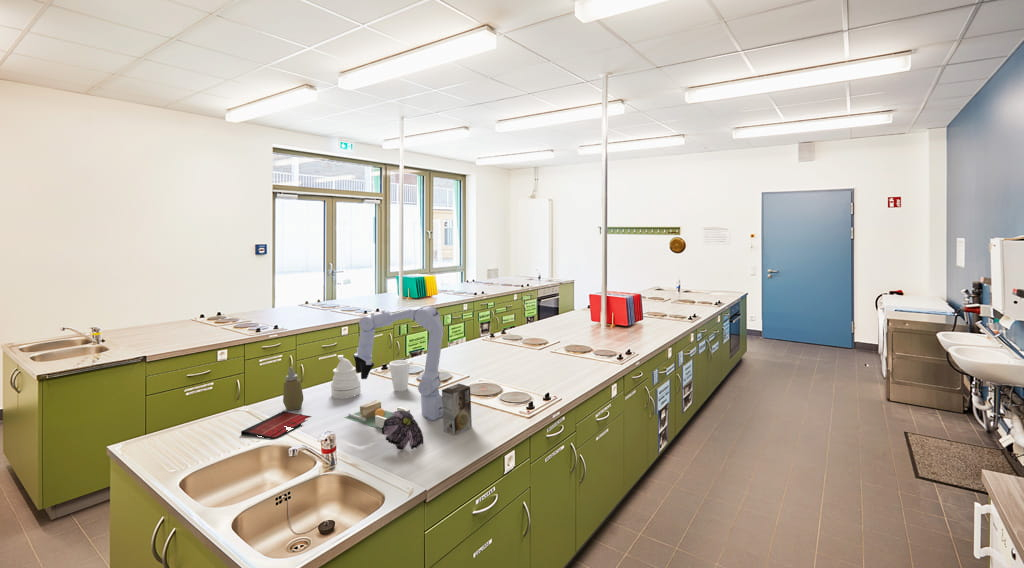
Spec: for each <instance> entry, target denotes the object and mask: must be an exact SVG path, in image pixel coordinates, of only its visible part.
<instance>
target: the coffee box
mask: <svg viewBox="0 0 1024 568" xmlns="http://www.w3.org/2000/svg"><path fill="white" fill-rule="evenodd" d="M441 396H442V403H443V416H442V427H443V432H444V433H447V434H449V435H453V436H457V435H460V434H461V433H464V432H465V431H467V430H469V429H471V428H472V427H473V424H472V402H471V400H472V399H471V386H468V385H465V384H462V383H457V384H453V385H451V386H449V387H446V388H442V389H441Z"/></svg>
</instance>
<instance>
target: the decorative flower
mask: <svg viewBox="0 0 1024 568" xmlns="http://www.w3.org/2000/svg"><path fill="white" fill-rule="evenodd" d="M392 415H394V416H391V417H388V418H387V419H386V420H385V421H384V425H383V428H382V430H381V434H382V435H384V436H385V435H386V437H385V441H387V442H388V444H389V443H390V444H391V445H392V444H393V445H395V446H396V450H400V451H402V450H404V449H405V448H406V447H407V446H408V444H409V446H410V448H411V450H413V449H414V448H416V449H417V447H419V446H420V445H421V444H422V445H424V435H423V432H422V429H421V427H420V426H419V424H418V422H417V420H416V419H414V415H413V414H411V412H410V413H409V412H407V411H403V410H400V411H397V410H396V411H393V412H392Z"/></svg>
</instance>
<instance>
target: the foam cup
mask: <svg viewBox="0 0 1024 568" xmlns="http://www.w3.org/2000/svg"><path fill="white" fill-rule="evenodd" d="M388 367H389V371H390V376H391V381H392V382H391V383H392V387H393V391H395V392H404V390H405V391H408V386H409V375H410V367H411V362H410V361H409V360H408V359H396V360H392V361H390V362H389V363H388Z"/></svg>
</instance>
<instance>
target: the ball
mask: <svg viewBox="0 0 1024 568" xmlns="http://www.w3.org/2000/svg"><path fill="white" fill-rule="evenodd" d="M385 411H386V410H385ZM385 411H384V408H381V409H377V410H376V411H375V416H376V415H378V416H381V417H384V416H385Z"/></svg>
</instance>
